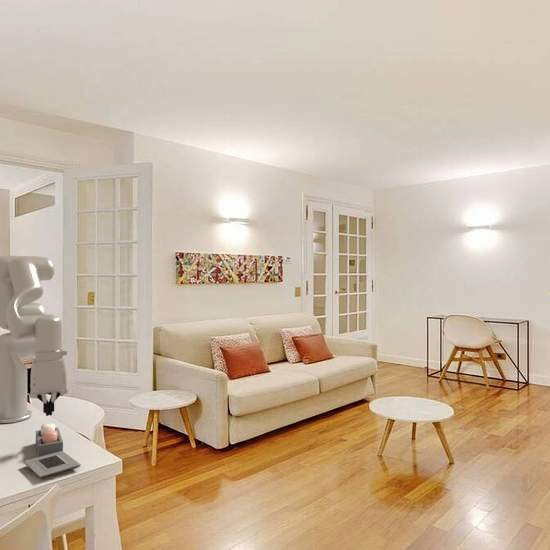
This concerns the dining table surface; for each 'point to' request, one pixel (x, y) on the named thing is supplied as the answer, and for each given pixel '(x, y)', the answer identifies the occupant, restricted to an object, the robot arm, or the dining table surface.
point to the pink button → (50, 436)
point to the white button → (47, 428)
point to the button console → (48, 444)
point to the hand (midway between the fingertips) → (48, 414)
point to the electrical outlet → (52, 464)
